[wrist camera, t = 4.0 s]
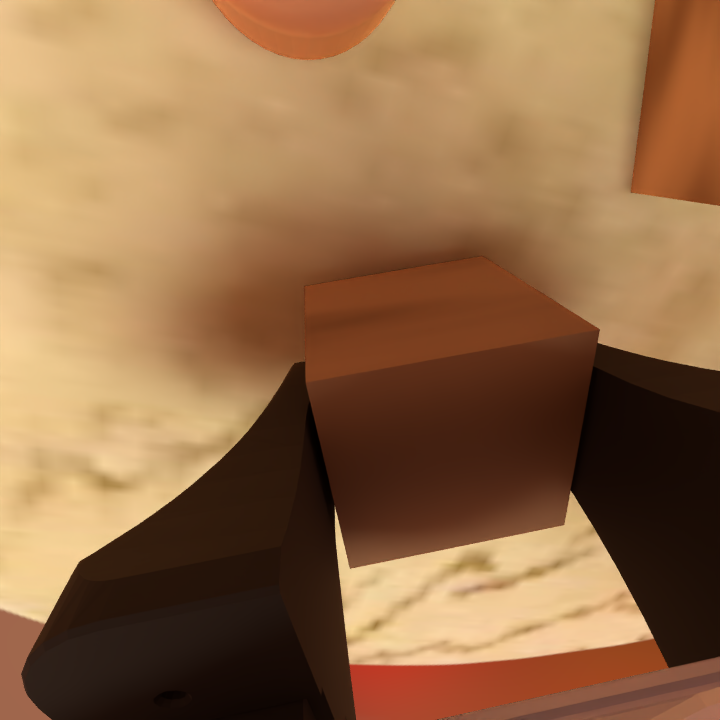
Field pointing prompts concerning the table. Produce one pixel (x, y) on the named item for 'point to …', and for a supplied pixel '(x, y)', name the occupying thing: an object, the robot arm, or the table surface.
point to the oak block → (681, 105)
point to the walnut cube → (444, 405)
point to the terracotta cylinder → (305, 24)
